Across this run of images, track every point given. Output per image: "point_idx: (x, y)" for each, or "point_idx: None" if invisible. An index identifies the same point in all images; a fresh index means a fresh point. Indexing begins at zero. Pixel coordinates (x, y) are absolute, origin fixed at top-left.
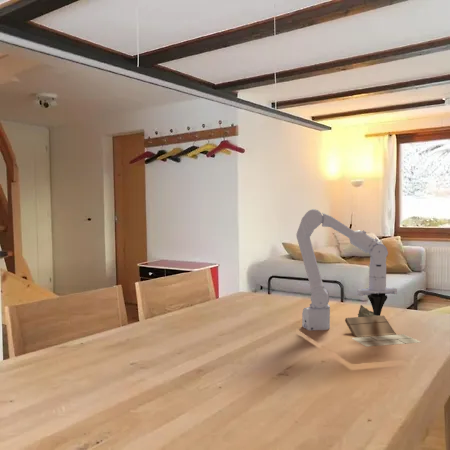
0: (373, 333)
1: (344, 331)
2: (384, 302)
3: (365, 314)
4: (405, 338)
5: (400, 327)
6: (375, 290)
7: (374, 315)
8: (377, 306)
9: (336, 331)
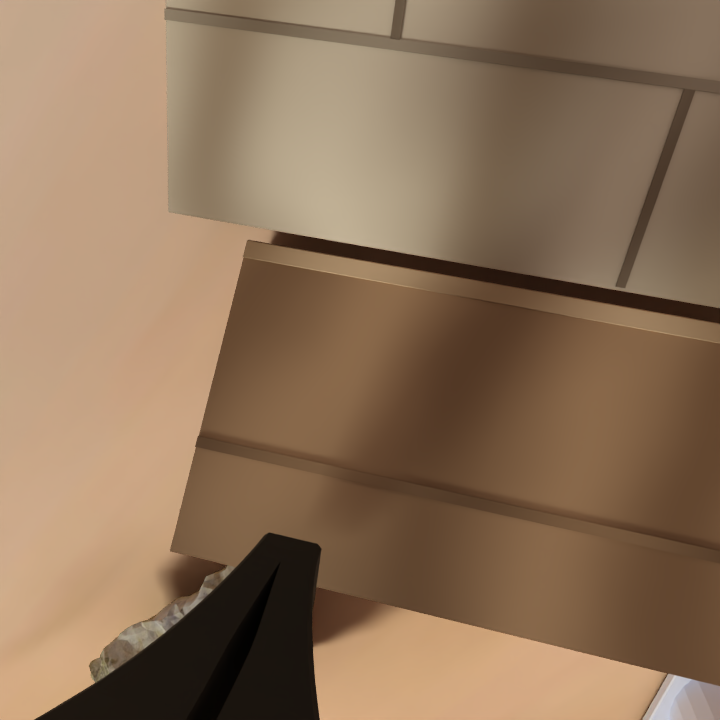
0: (521, 326)
1: None
2: (101, 682)
3: None
4: (264, 22)
5: (23, 483)
6: None
7: None
8: (288, 658)
9: None
